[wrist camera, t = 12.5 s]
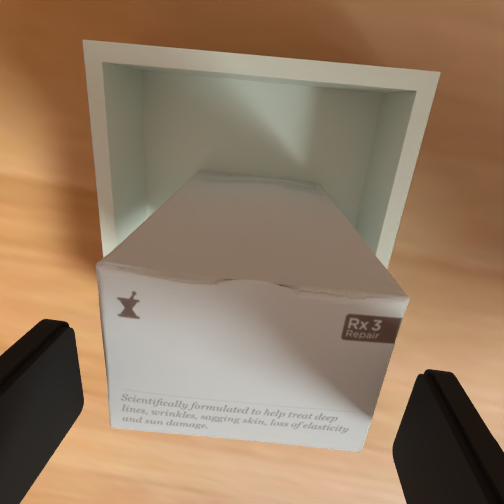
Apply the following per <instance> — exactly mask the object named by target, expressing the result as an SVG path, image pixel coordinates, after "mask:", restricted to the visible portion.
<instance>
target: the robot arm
mask: <svg viewBox="0 0 504 504" xmlns="http://www.w3.org/2000/svg"><path fill="white" fill-rule="evenodd" d="M83 405H84V397H83V390H82V383H81V375H80V368H79V361H78V354H77V347H76V340H75V333H74V330H73V328H70V327H69V324H68V323H67V322H65V321H57V320H50V319H43V320H42V321H40V322H39V323H38V324H36V325H35V326H34V327H33V328H32V329H31V330H30V331H28V332H27V333H26V334H25V335H24V336H23V337H22V338H20V339H19V340H18V341H17V342H16V343H15V344H13V345H12V346H11V347H10V348H9V349H8V350H7V351H5V352H4V353H3V354H2V355H1V356H0V504H20V502H21V501H22V499H23V498H24V496H25V495H26V493H27V492H28V490H29V489H30V487H31V486H32V484H33V483H34V481H35V480H36V479H37V477H38V476H39V474H40V473H41V471H42V470H43V468H44V467H45V465H46V464H47V462H48V461H49V459H50V458H51V456H52V455H53V453H54V452H55V450H56V449H57V447H58V446H59V444H60V443H61V441H62V440H63V438H64V437H65V435H66V434H67V433H68V431H69V430H70V428H71V427H72V425H73V424H74V422H75V421H76V419H77V418H78V416H79V415H80V413H81V411H82V408H83ZM393 459H394V463H395V466H396V469H397V473H398V476H399V479H400V483H401V486H402V489H403V493H404V496H405V499H406V503H407V504H504V452H503V451H502V449H501V447H500V446H499V444H498V443H497V441H496V440H495V439H494V437H493V436H492V434H491V433H490V431H489V429H488V428H487V426H486V425H485V423H484V421H483V420H482V418H481V417H480V415H479V413H478V412H477V410H476V409H475V407H474V405H473V404H472V402H471V401H470V399H469V397H468V396H467V394H466V392H465V391H464V389H463V388H462V386H461V384H460V383H459V381H458V380H457V378H456V376H455V375H454V374H453V373H451V372H446V371H439V370H431V369H428V370H426V371H425V372H424V374H419V375H418V376H417V379H416V381H415V384H414V387H413V390H412V393H411V396H410V398H409V401H408V404H407V407H406V410H405V412H404V415H403V418H402V421H401V424H400V427H399V429H398V432H397V435H396V438H395V441H394V444H393Z"/></svg>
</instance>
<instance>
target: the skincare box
mask: <svg viewBox="0 0 504 504" xmlns="http://www.w3.org/2000/svg"><path fill="white" fill-rule="evenodd" d="M96 275H97V283H98V290H99V308H100V318H101V329H102V338H103V347H104V357H105V365H106V374H107V384H108V402H109V418H110V426H111V427H112V428H116V429H127V430H137V431H148V432H160V433H171V434H183V435H194V436H205V437H216V438H227V439H237V440H247V441H257V442H267V443H277V444H287V445H298V446H307V447H317V448H326V449H334V450H343V451H352V452H360V451H361V450H362V447H363V444H364V442H365V439H366V436H367V433H368V430H369V426H370V423H371V420H372V417H373V414H374V410H375V407H376V403H377V400H378V397H379V393H380V390H381V387H382V384H383V381H384V377H385V374H386V371H387V367H388V364H389V361H390V358H391V354H392V351H393V348H394V344H395V340H396V337H397V334H398V331H399V328H400V325H401V322H402V319H403V316H404V313H405V311H406V308H407V305H408V302H409V298H408V296H407V294H406V293H405V292H404V291H403V289H402V288H401V287H400V286H399V284H398V283H397V282H396V281H395V279H394V278H393V277H392V275H391V274H390V273H389V272H388V270H387V269H386V268H385V267H384V265H383V264H382V263H381V261H380V260H379V259H378V258H377V257H376V255H375V254H374V253H373V252H372V250H371V249H370V248H369V246H368V245H367V244H366V243H365V241H364V240H363V239H362V238H361V236H360V235H359V234H358V232H357V231H356V230H355V228H354V227H353V226H352V224H351V223H350V222H349V221H348V220H347V218H346V217H345V216H344V214H343V213H342V212H341V211H340V209H339V208H338V207H337V205H336V204H335V203H334V202H333V200H332V199H331V198H330V197H329V195H328V194H327V193H326V191H325V190H324V189H323V187H322V186H321V185H320V184H317V183H313V182H304V181H296V180H288V179H280V178H271V177H261V176H253V175H244V174H231V173H216V172H209V171H203V170H199V171H198V172H197V173H196V174H195V175H194V176H192V177H191V178H190V179H189V180H188V181H187V182H186V183H185V184H184V185H183V186H182V187H181V188H180V189H179V190H178V191H177V192H176V193H174V194H173V195H172V196H171V197H170V198H169V199H168V200H167V201H166V202H165V203H164V204H162V205H161V206H160V207H159V208H158V209H157V210H156V211H155V212H154V213H153V214H152V215H150V216H149V217H148V218H147V219H146V220H145V221H144V222H143V223H142V224H141V225H140V226H139V227H138V228H136V229H135V230H134V231H133V232H132V233H131V234H130V235H129V236H128V237H127V238H126V239H125V240H124V241H123V242H121V243H120V244H119V245H118V246H117V247H116V248H114V249H113V250H112V251H111V252H110V253H109V254H108V255H106V256H105V257H104V258H103V259H101V260H100V261H99V262H97V263H96Z"/></svg>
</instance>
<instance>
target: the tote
mask: <svg viewBox="0 0 504 504" xmlns="http://www.w3.org/2000/svg"><path fill="white" fill-rule="evenodd" d="M82 41H83V51H84V62H85V72H86V83H87V93H88V103H89V114H90V124H91V135H92V145H93V156H94V166H95V176H96V187H97V197H98V208H99V218H100V228H101V239H102V249H103V258H104V257H105V256H106V255H108V254H109V253H110V252H111V251H112V250H113V249H114V248H116V247H117V246H118V245H119V244H120V243H121V242H123V241H124V240H125V239H126V238H127V237H128V236H129V235H130V234H131V233H132V232H133V231H134V230H135V229H136V228H138V227H139V226H140V225H141V224H142V223H143V222H144V221H145V220H146V219H147V218H148V217H149V216H150V215H152V214H153V213H154V212H155V211H156V210H157V209H158V208H159V207H160V206H161V205H162V204H164V203H165V202H166V201H167V200H168V199H169V198H170V197H171V196H172V195H173V194H174V193H176V192H177V191H178V190H179V189H180V188H181V187H182V186H183V185H184V184H185V183H186V182H187V181H188V180H189V179H190V178H191V177H192V176H194V175H195V174H196V173H197V172H198V171H199V170H203V171H209V172H216V173H231V174H244V175H253V176H261V177H271V178H280V179H288V180H296V181H304V182H313V183H317V184H320V185H321V186H322V187H323V189H324V190H325V191H326V193H327V194H328V195H329V197H330V198H331V199H332V200H333V202H334V203H335V204H336V205H337V207H338V208H339V209H340V211H341V212H342V213H343V214H344V216H345V217H346V218H347V220H348V221H349V222H350V223H351V224H352V226H353V227H354V228H355V230H356V231H357V232H358V234H359V235H360V236H361V238H362V239H363V240H364V241H365V243H366V244H367V245H368V246H369V248H370V249H371V250H372V252H373V253H374V254H375V255H376V257H377V258H378V259H379V260H380V261H381V263H382V264H383V265H384V267H385V268H386V269H387V268H388V265H389V261H390V257H391V254H392V250H393V246H394V243H395V239H396V235H397V232H398V228H399V224H400V221H401V217H402V213H403V210H404V206H405V202H406V199H407V195H408V191H409V187H410V184H411V180H412V176H413V173H414V169H415V165H416V162H417V158H418V154H419V151H420V147H421V143H422V140H423V136H424V132H425V129H426V125H427V121H428V118H429V114H430V110H431V106H432V103H433V99H434V95H435V92H436V88H437V84H438V81H439V77H440V73H441V72H437V71H426V70H415V69H404V68H393V67H382V66H371V65H360V64H349V63H338V62H327V61H316V60H305V59H294V58H283V57H272V56H261V55H250V54H239V53H228V52H217V51H206V50H195V49H184V48H173V47H162V46H150V45H139V44H128V43H117V42H106V41H95V40H84V39H82Z"/></svg>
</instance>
